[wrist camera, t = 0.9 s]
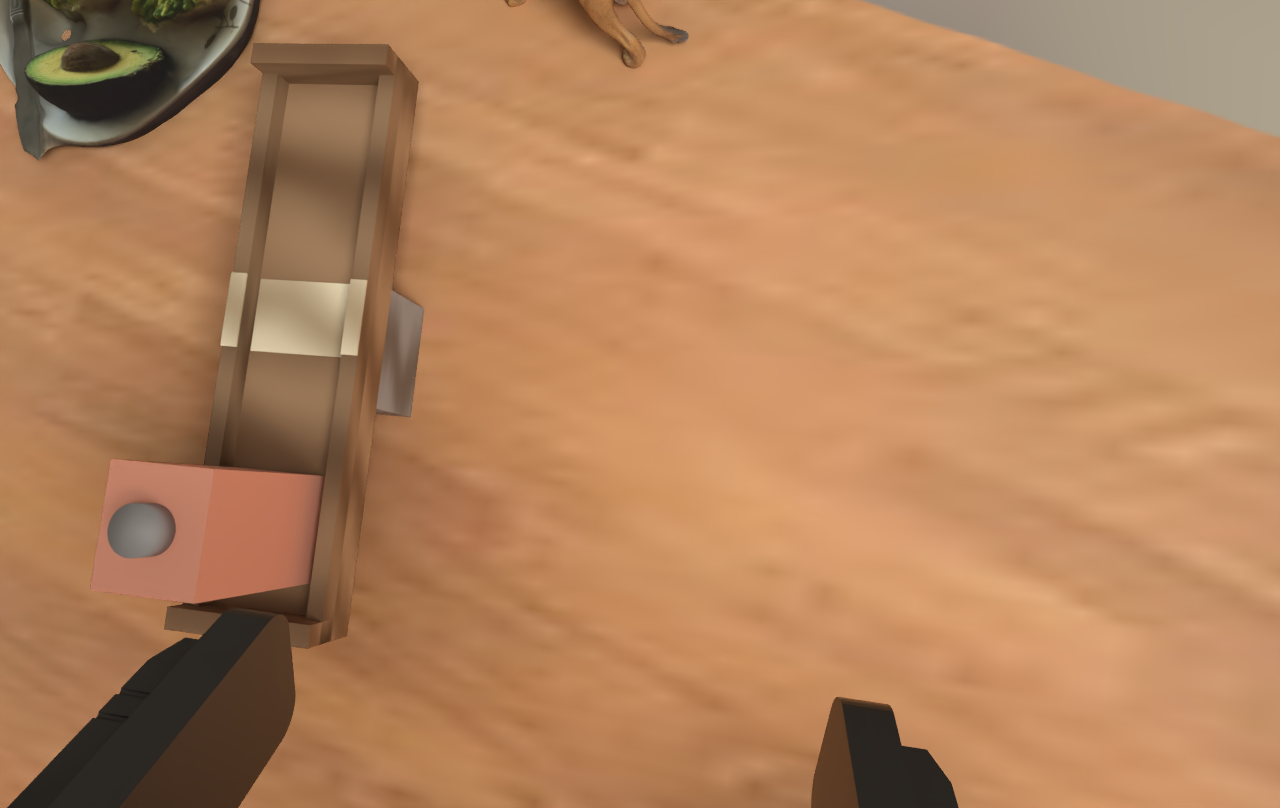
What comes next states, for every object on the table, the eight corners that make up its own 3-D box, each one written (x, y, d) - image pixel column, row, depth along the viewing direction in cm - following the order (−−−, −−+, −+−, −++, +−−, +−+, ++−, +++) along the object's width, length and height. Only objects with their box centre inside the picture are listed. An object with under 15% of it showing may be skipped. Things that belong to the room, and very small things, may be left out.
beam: (384, 623, 43) (306, 648, 36) (263, 608, 44) (164, 629, 37) (448, 117, 46) (388, 44, 39) (332, 114, 47) (253, 43, 40)
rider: (310, 583, 38) (175, 607, 30) (225, 572, 39) (67, 593, 30) (325, 476, 39) (196, 468, 30) (240, 467, 40) (90, 457, 31)
